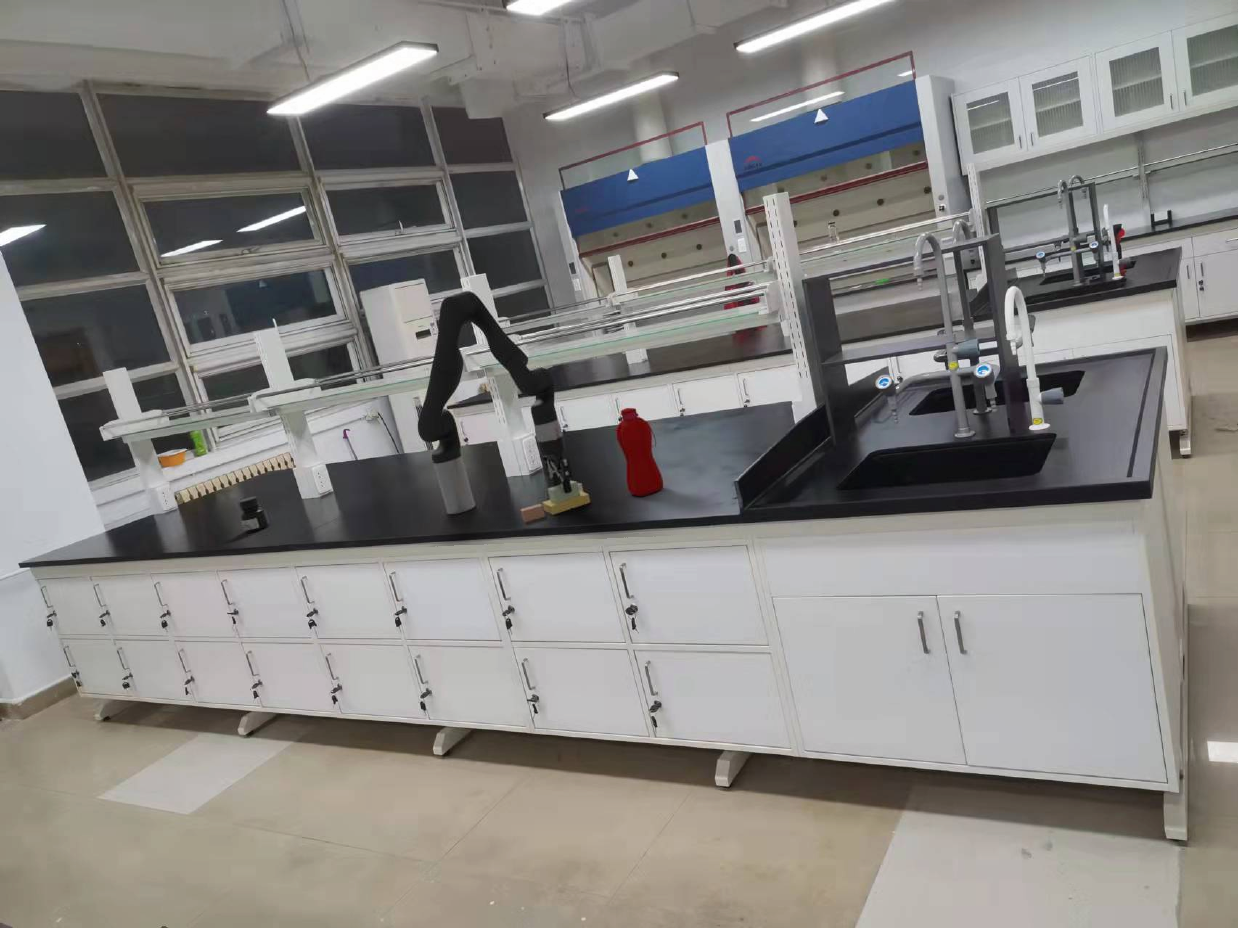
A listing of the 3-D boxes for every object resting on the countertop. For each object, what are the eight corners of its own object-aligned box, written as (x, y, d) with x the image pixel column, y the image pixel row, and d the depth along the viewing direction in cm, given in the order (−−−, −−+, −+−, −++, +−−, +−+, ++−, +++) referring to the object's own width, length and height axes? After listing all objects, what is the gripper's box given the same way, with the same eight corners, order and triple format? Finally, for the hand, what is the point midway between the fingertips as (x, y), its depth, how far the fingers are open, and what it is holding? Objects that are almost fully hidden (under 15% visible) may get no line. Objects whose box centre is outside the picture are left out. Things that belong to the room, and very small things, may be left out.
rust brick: (524, 522, 248) (521, 511, 247) (523, 520, 251) (520, 509, 250) (545, 517, 249) (542, 505, 249) (543, 514, 252) (540, 503, 251)
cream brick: (564, 496, 267) (561, 486, 267) (571, 493, 269) (568, 483, 268) (577, 497, 263) (574, 486, 262) (584, 494, 265) (581, 483, 264)
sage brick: (550, 501, 254) (547, 488, 253) (574, 493, 258) (571, 480, 257) (556, 503, 251) (553, 490, 250) (580, 494, 254) (577, 481, 253)
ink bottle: (240, 533, 327) (230, 503, 324) (260, 525, 334) (250, 495, 331) (254, 533, 321) (244, 502, 318) (275, 524, 328) (265, 494, 325)
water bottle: (673, 486, 248) (654, 403, 243) (640, 498, 244) (621, 413, 239) (657, 483, 257) (639, 401, 251) (626, 494, 252) (606, 412, 247)
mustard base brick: (544, 511, 257) (542, 502, 256) (581, 499, 261) (579, 490, 260) (552, 516, 249) (550, 506, 249) (590, 504, 253) (588, 494, 253)
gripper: (528, 439, 255) (542, 492, 259) (548, 442, 242) (562, 498, 246) (551, 431, 258) (564, 484, 262) (571, 434, 246) (585, 490, 249)
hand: (563, 491), depth 254 cm, fingers open, 6 cm apart
